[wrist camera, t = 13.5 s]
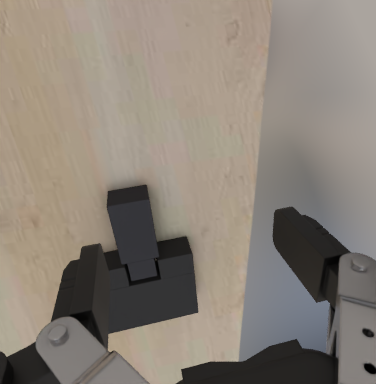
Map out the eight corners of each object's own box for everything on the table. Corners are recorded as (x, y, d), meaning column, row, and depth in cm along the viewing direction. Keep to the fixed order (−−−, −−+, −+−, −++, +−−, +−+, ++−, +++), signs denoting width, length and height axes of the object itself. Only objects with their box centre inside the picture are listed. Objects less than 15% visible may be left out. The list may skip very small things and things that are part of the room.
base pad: (186, 236, 43) (192, 253, 40) (192, 293, 49) (198, 312, 45) (90, 255, 41) (87, 275, 38) (108, 312, 47) (107, 334, 43)
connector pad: (146, 184, 38) (149, 199, 34) (159, 256, 44) (162, 274, 40) (107, 191, 37) (106, 206, 34) (125, 263, 43) (126, 282, 40)
